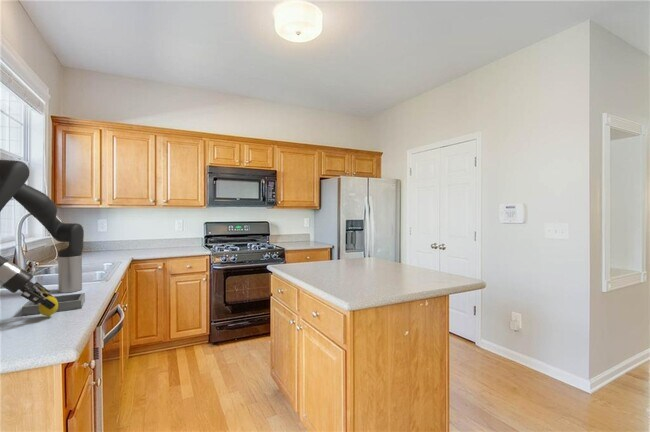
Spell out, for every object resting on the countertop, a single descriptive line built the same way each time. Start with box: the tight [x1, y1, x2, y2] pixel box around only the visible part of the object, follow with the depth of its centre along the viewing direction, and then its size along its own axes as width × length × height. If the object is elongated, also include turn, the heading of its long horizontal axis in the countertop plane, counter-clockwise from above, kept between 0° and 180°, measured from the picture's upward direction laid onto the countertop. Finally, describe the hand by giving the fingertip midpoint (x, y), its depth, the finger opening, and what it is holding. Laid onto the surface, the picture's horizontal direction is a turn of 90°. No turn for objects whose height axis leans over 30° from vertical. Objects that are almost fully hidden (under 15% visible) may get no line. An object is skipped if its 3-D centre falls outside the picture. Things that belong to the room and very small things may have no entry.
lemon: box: [39, 296, 58, 318], centre depth 120 cm, size 6×6×8 cm
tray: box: [21, 292, 86, 317], centre depth 132 cm, size 13×18×3 cm
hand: (54, 304), depth 121 cm, fingers closed on lemon, 5 cm apart
